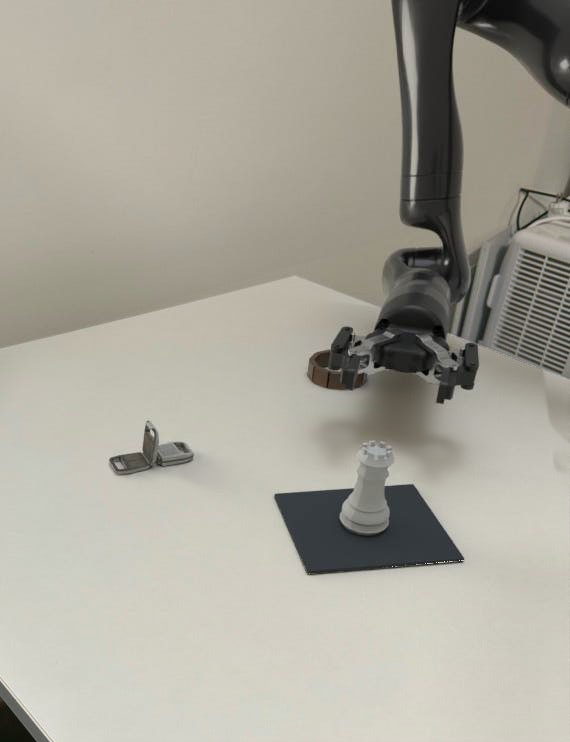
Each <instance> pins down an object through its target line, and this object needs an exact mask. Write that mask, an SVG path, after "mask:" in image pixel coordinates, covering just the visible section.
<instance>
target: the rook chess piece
mask: <svg viewBox="0 0 570 742" xmlns="http://www.w3.org/2000/svg"><path fill="white" fill-rule="evenodd" d="M386 445H387V442H385V441H382V440H380V442H379V444H378V445H377V444H376V440H375V439H374V440H373V439H372V440H369V443H368V442H364V443H363V444H362V448H361V449H359V450H358V452H356V456H355V457H356V459H357V460H358V462H359V463H360V465H359V466H358V467H357V468H356V473H357V480H356V482H355V485H354V487H353V488H354V490H353V492H352V494H350V495H349V498H348V499H347V500H346V501H345V502H344V503H343V505H342V512H341V513H340V520H341V522H342V523H343V525H344V526H345V528H347V529H348V530H349V531H351V532H353V533H356V534H359V535H366V536H367V535H375V534H378V533H380V532H382V531H383V530H385V528H386V527H387V526H388V525H389V519H388V518H389V514H390V511H389V507H388V506H387V501H386V499H385V496H384V490H385V486H386V485H385V484H386V482H387V481H386V480H387V479H388V478H389V476H390V472H389V470H388V469H389V467H391V466H392V465H393V464H394V463H395V461H396V459H395V456H394V455H393V454H392V452H393V447H392V446H391V445H390V444H389V445H387V446H386Z"/></svg>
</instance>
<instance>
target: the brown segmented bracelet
mask: <svg viewBox="0 0 570 742" xmlns="http://www.w3.org/2000/svg"><path fill="white" fill-rule="evenodd" d="M329 357H330V349H325V350H320V351H316V352H314V353H313V354H311V356H310V357H309V358H308V364H307V376H308V378H309V379H310V381H311V382H312V383H313V384H316V385H317V386H321V387H323V388H327V389H332V390H344V391H345V390H346V389H345V386H346V384H341V383H340V377H341V371H339V370H336V371H334V370H330V369H329V368H328V365H329ZM360 360H361V357H360ZM368 376H369V375H368V374H366V373H364V372H363V373H360V374H358V376H357V379H356V382H355V385H354V387H353V389H355V388H360V387H361V386H363V385H364V384H365V382H366V381H367V380H368Z"/></svg>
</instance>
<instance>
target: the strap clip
mask: <svg viewBox="0 0 570 742" xmlns="http://www.w3.org/2000/svg"><path fill="white" fill-rule="evenodd" d="M151 431H152V432H153V434H154V435H153V434H151ZM143 432H144V433H143V439H142V440H143V441H142V448H141V449H142V452H141V451H138V452H132V453H124V454H117V455H115V456H111V457H109V459H108V461H109V464H110V465H111V467H112V468H113V470H114V472H115V473H116V474H133V473H136V472H142V471H145V470H149V469H150V467H152V465H154V463H157V464H158V465H161V466H162V467H166V466H172V465H179V464H184V463H185V464H186V462H189V461H192V460H194V456H195V455H194V451H193V450H192V448H190V446H189V445H188V444H187V442H185V441H170V442H165V443H160V436H159V431H158V429H157V427H156V426H155V425H154V424H153V423H152V421H151V420H147V421H145V426H144V431H143ZM180 450H183V451H184V452H181V451H180ZM115 462H122V464H123V466H124V467H125V468H118V466H117V465H116V463H115Z"/></svg>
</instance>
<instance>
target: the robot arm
mask: <svg viewBox="0 0 570 742" xmlns="http://www.w3.org/2000/svg"><path fill="white" fill-rule="evenodd" d="M390 1H391V2H390V3H391V5H390V6H391V15H392V22H393V23H392V24H393V31H394V32H393V33H394V39H395V49H396V50H395V52H396V62H397V63H396V64H397V72H398V74H397V75H398V84H399V95H400V96H399V97H400V115H401V118H400V119H401V160H400V161H401V163H400V179H399V180H400V184H399V206H398V207H399V209H398V210H399V213H398V214H399V219H400V222H401V224H403V225H404V226H406V227H409V228H412V229H413V228H414V229H420V230H425V231H429V232H431V233H434V234H435V235H436V236H438V239H440V242H441V245H442V246H441V245H440V246H420V247H404V248H399V249H396V250H395V251H393V252H391V254H389V256H388V257H387V258H386V260H385V262H384V265H383V268H382V274H381V284H382V285H381V286H382V292H383V295H384V297H385V301H384V303H383V304H382V307H381V309H380V312H379V315H378V318H377V319H376V323H375V325H374V328H373V331H372V332H369V333H368V334H367V335H366V336H363V335H357V334H356V333H355V332H354V327H352V326H342V327H341V328H340V330H339V332H338V333H337V334H336V337H335V338H334V340H333V342H331V344H330V348H329V350H330V357H329V365H328V367H327V369H328V370H330V371H339V370H340V369H341V370H340V372H341V377H340V383H341V384H346V386H345V390H348V391H353V390H354V388H353V387H354V385H355V382H356V379H357V376H358V374H360V373H363V372H364V373H366V374H368V376H369V375H373V374H376V373H379V372H382V371H394V372H398V373H403V374H412V375H417V376H419V377H421V379H423V380H424V381H425V382H426V383H428V384H436V385H437V386H438V389H437V394H436V400H435V404H439V405H444V403H445V400H447V401H451V400H452V399H453V397H454V393H455V388H456V387H457V386H460V388H461V389H462V390H466V391H472V390H474V388H475V381H476V377H477V373H478V370H479V367H480V360H479V357H480V356H479V346H478V343H476V342H475V343H474V342H466V343H465V344H464V346H461V347H460V348H452V347H450V345H449V343H448V342H447V336H448V333H449V326H450V319H451V317H450V316H451V312H450V307H451V306H455V305H458V304H459V303H460V302H461V301H463V299H464V298H465V297H466V295H467V294H468V292H469V290H470V286H471V284H472V271H471V264H470V259H469V255H468V251H467V247H466V243H465V238H464V231H463V223H462V188H463V177H464V176H463V175H464V161H465V160H464V159H465V158H464V157H465V156H464V155H465V150H464V149H465V148H464V147H465V145H464V144H465V143H464V135H463V128H462V127H463V126H462V121H461V117H460V110H459V106H458V101H457V96H456V88H455V79H454V45H455V38H456V37H455V36H456V30H457V28H458V29H459V30H463V31H466V32H469V33H470V34H472V35H475V36H478V37H479V38H481V39H484V40H485V41H488V42H490V43H492V44H494V45H496V46H497V47H499V48H501V49H503V50H504V51H505V52H507V53H508V54H510V55H511V56H512V57H513V58H515V60H517V62H518V63H519V64H520V65H521V66H522V67H523V68H524V69H525V71H526V72H527V73H528V74H529V75H530V76H531V77H532V79H533V80H534V81H535V82H536V83H537V84H538V85H539V86H540V87H541V88H542V89H543V91H545V92H546V93H547V94H548V95H549V96H550V97H552V98H553V99H554V100H556V101H557V102H559V104H561V105H562V106H564V107H566V108H568V109H569V110H570V0H390ZM360 357H361V360H360Z"/></svg>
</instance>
